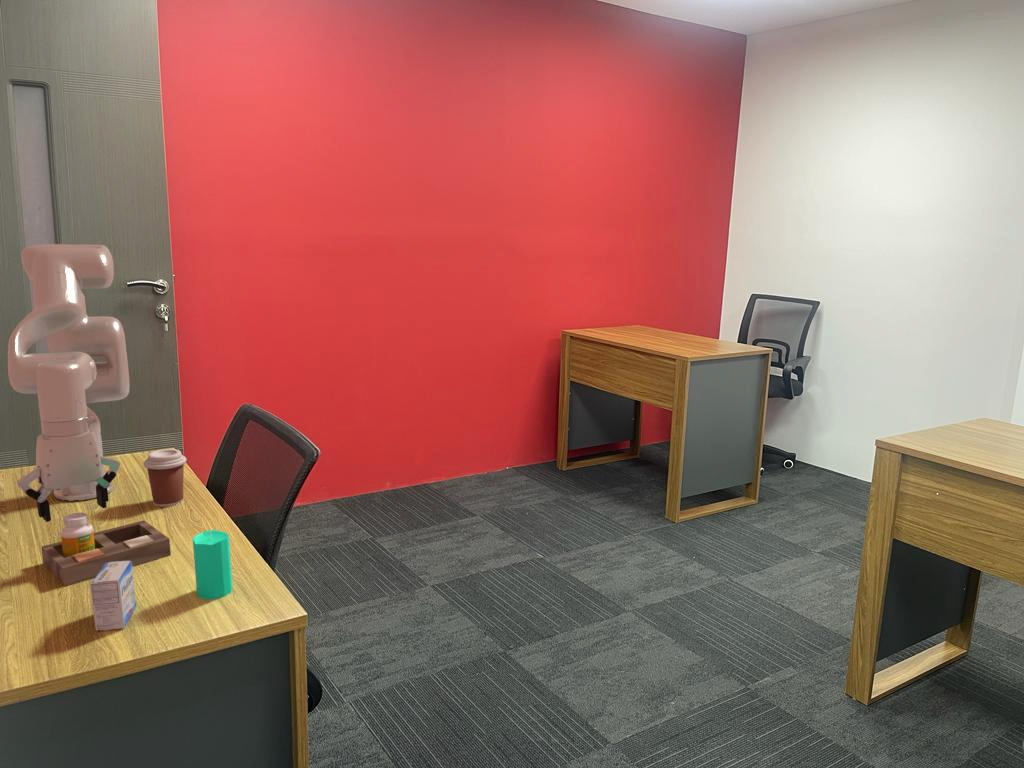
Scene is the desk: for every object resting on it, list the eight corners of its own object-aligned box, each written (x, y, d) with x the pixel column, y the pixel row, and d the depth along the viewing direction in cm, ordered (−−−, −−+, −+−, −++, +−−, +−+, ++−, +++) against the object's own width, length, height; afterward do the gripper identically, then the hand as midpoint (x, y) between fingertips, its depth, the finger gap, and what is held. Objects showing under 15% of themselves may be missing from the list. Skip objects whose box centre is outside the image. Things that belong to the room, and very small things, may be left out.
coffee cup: (178, 492, 187) (174, 445, 184) (196, 501, 181) (193, 453, 178) (140, 502, 180) (135, 453, 177) (157, 512, 174) (153, 461, 171)
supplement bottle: (82, 571, 145) (77, 522, 143) (57, 568, 146) (52, 520, 144) (102, 559, 150) (97, 512, 148) (78, 556, 151) (73, 509, 149)
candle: (196, 586, 139) (191, 524, 137) (231, 581, 142) (227, 520, 139) (197, 601, 134) (192, 537, 131) (233, 595, 136) (229, 532, 134)
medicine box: (124, 629, 125) (119, 580, 123) (94, 632, 124) (89, 582, 122) (137, 606, 132) (132, 559, 130) (109, 608, 131) (104, 561, 129)
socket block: (43, 563, 148) (41, 544, 147) (145, 536, 161) (143, 518, 160) (64, 586, 139) (62, 566, 138) (170, 555, 152) (169, 537, 151)
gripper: (107, 414, 151) (115, 496, 155) (5, 430, 139) (17, 519, 142) (122, 422, 146) (129, 506, 150) (17, 440, 133) (28, 531, 137)
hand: (74, 512), depth 146 cm, fingers open, 9 cm apart
